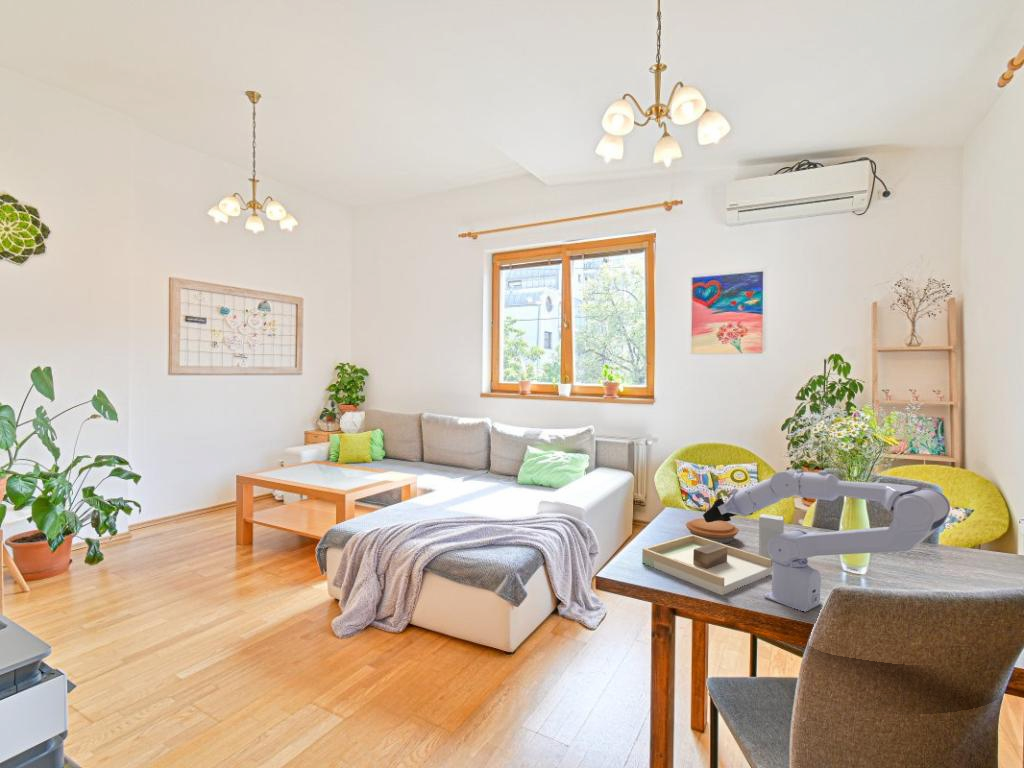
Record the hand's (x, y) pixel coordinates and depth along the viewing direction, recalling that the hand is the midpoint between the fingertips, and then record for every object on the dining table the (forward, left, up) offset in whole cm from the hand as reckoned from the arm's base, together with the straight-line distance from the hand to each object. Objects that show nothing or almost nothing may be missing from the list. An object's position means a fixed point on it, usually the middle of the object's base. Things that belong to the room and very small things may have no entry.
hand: (714, 516), depth 135 cm
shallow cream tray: (+2, 0, -15) cm, 15 cm away
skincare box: (-4, -22, -15) cm, 27 cm away
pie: (+16, -24, -15) cm, 33 cm away
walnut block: (+1, 0, -13) cm, 13 cm away
